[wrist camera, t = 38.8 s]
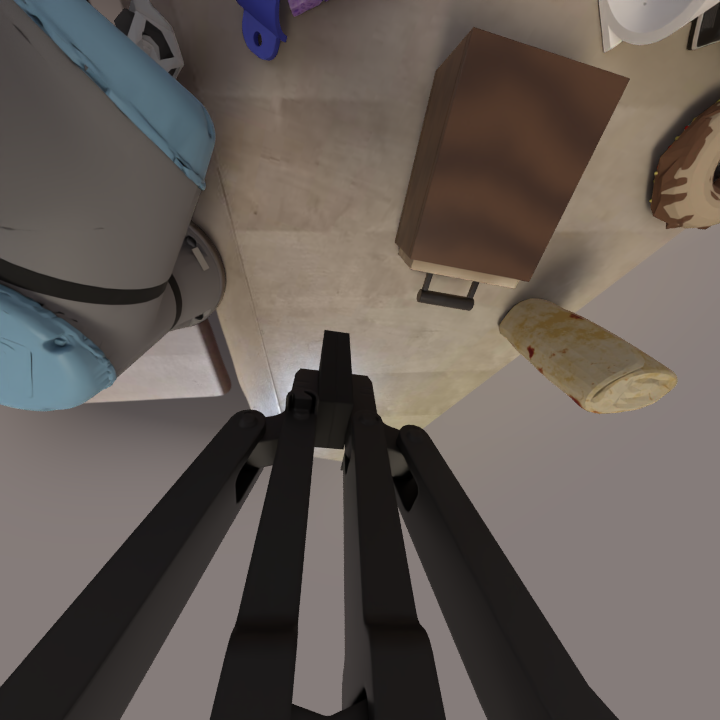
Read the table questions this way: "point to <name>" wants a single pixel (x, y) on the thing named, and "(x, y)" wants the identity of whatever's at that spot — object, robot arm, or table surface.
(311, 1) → the sponge
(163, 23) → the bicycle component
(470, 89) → the cabinet
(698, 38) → the battery charger
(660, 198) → the donut
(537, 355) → the food model
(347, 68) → the table surface
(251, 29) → the bracket
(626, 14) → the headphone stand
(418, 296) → the drawer
